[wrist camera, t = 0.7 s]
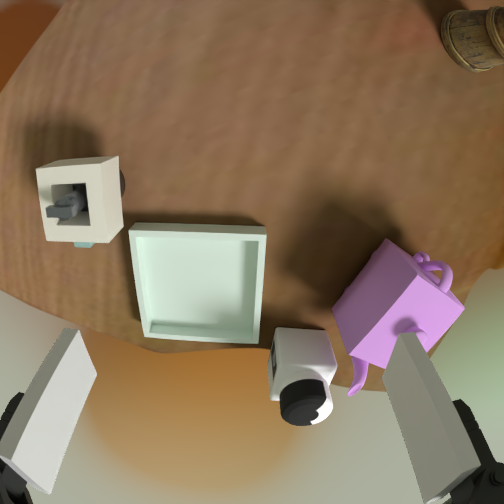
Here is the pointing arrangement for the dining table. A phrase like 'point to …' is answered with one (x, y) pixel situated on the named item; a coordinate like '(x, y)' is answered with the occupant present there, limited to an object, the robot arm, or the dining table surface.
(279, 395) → the container
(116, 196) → the cream square-holed block
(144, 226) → the tray
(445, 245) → the dining table surface
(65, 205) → the dark grey stemmed piece
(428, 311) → the teapot
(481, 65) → the wooden mug
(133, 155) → the dining table surface
